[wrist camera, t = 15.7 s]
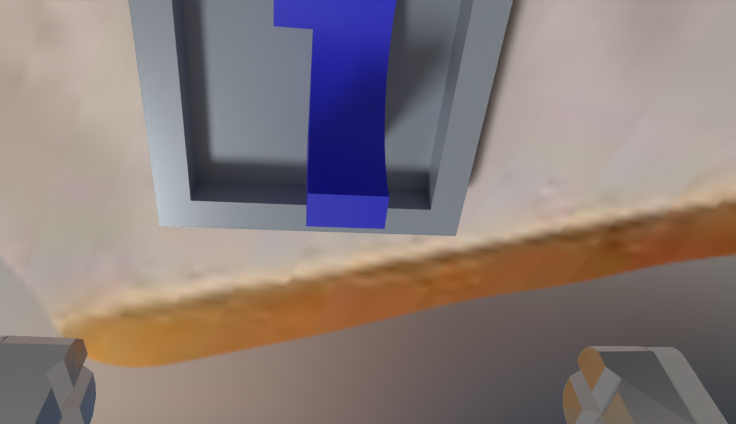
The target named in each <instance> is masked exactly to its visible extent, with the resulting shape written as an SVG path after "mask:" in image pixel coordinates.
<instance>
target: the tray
mask: <svg viewBox="0 0 736 424" xmlns="http://www.w3.org/2000/svg"><path fill="white" fill-rule="evenodd" d="M512 2H513V0H397V1H396V6H395V12H394V19H393V26H392V33H391V41H390V50H389V60H388V71H387V84H386V102H385V162H386V175H387V185H388V192H389V203H388V209H387V216H386V223H385V229H369V228H340V227H310V226H306V197H307V142H308V120H309V99H310V78H311V57H312V35H313V29H302V28H289V27H276V26H274V0H129V7H130V14H131V22H132V29H133V36H134V43H135V51H136V58H137V65H138V73H139V80H140V87H141V94H142V102H143V109H144V116H145V124H146V131H147V138H148V145H149V153H150V160H151V167H152V175H153V182H154V189H155V196H156V204H157V211H158V218H159V226H169V227H199V228H229V229H260V230H290V231H321V232H351V233H381V234H412V235H442V236H456V233H457V228H458V224H459V220H460V216H461V212H462V208H463V204H464V200H465V196H466V191H467V187H468V183H469V179H470V175H471V171H472V167H473V163H474V159H475V154H476V150H477V146H478V142H479V138H480V134H481V130H482V126H483V122H484V117H485V113H486V109H487V105H488V101H489V97H490V93H491V89H492V85H493V80H494V76H495V72H496V68H497V64H498V60H499V56H500V52H501V48H502V44H503V39H504V35H505V31H506V27H507V23H508V19H509V15H510V11H511V7H512Z"/></svg>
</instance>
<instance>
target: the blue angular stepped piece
mask: <svg viewBox="0 0 736 424" xmlns="http://www.w3.org/2000/svg"><path fill="white" fill-rule="evenodd" d="M396 1H397V0H274V26H276V27H289V28H302V29H313V35H312V57H311V78H310V99H309V120H308V142H307V197H306V226H310V227H340V228H369V229H385V223H386V216H387V209H388V203H389V192H388V185H387V175H386V162H385V102H386V84H387V71H388V60H389V50H390V41H391V33H392V26H393V19H394V12H395V6H396Z"/></svg>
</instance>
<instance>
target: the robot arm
mask: <svg viewBox="0 0 736 424" xmlns="http://www.w3.org/2000/svg"><path fill="white" fill-rule="evenodd" d="M87 354H88V353H87V350H86V347H85V344H84V341H83V339H77V338H55V337H31V336H0V424H90V422H91V419H92V416H93V411H94V405H95V399H96V385H95V379H94V375H93V372H92V371H90V370H89V369H87V368H86V367H85V366H83V364H84V362H85V359H86V357H87ZM578 363H579V366H580V368H581V370H580V371H578V372H577V373H575V374H574V375H572V376H571V377H569V379H568V381H567V384H566V386H565V388H564V396H563V408H564V413H565V418H566V421H567V424H728V423H727V422H726V420H725V419H724V417H723V416H722V414H721V413H720V411H719V410H718V408H717V407H716V405H715V403H714V402H713V401H712V399H711V397H710V396H709V394H708V393H707V391H706V390H705V388H704V387H703V385H702V384H701V382H700V381H699V379H698V378H697V376H696V374H695V373H694V371H693V370H692V368H691V367H690V365H689V364H688V362H687V361H686V359H685V358H684V356H683V355H682V354H681V353H680V352H679V351H678V350H676V349H675V348H672V347H671V348H670V347H629V346H624V347H623V346H621V347H620V346H618V347H617V346H607V347H606V346H589V347H587V348H586V349H584V350H583V351H582V352H581V354H580V356H579V358H578Z"/></svg>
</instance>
